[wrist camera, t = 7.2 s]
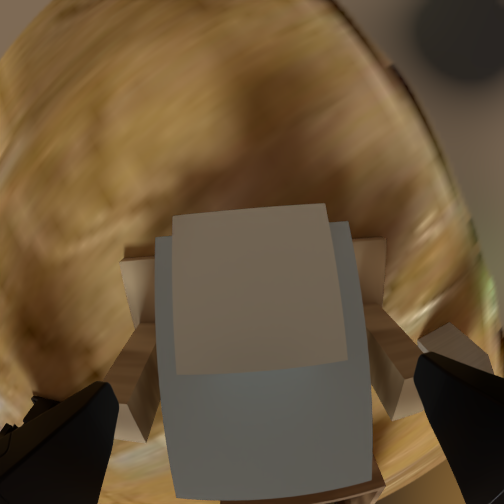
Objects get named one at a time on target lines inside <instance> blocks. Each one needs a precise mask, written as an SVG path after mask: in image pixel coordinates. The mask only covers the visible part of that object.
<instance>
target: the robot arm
mask: <svg viewBox="0 0 504 504" xmlns="http://www.w3.org/2000/svg"><path fill="white" fill-rule="evenodd" d="M413 380H414V384H415V387H416V389H417V392H418V394H419V397H420V399H421V402H422V405H423V407H424V410H425V413H426V415H427V418H428V420H429V423H430V425H431V427H432V429H433V431H434V433H435V435H436V437H437V439H438V441H439V443H440V445H441V447H442V450H443V452H444V454H445V456H446V458H447V460H448V462H449V464H450V467H451V469H452V471H453V474H454V476H455V478H456V480H457V483H458V485H459V488H460V490H461V493H462V495H463V498H464V500H465V503H466V504H504V378H502V377H499V376H496V375H493V374H491V373H488V372H485V371H483V370H480V369H477V368H475V367H472V366H469V365H467V364H464V363H461V362H459V361H456V360H453V359H451V358H448V357H446V356H443V355H440V354H438V353H435V352H432V351H430V352H426V353H423V354H421V355H420V356H419V357H418V361H417V364H416V368H415V372H414V376H413ZM31 400H32V402H33V403H34V405H33V407H32V408H31V409H30V411H29V412H28V413H27V415H26V416H25V417H24V419H23V422H24V424H23V425H22V426H21V427H19V428H18V427H17V426H16V425H15V424H14V425H13V427H12V426H11V425H9V424H7V423H6V424H5V426H4V427H3V429H2V430H1V431H0V504H97V503H98V499H99V495H100V491H101V487H102V484H103V480H104V476H105V472H106V469H107V465H108V462H109V458H110V454H111V451H112V446H113V440H114V435H115V429H116V424H117V418H118V413H119V402H118V400H117V398H116V395H115V393H114V391H113V389H112V386H111V385H110V383H108V382H104V381H96V382H94V383H92V384H91V385H89V386H87V387H86V388H84V389H82V390H81V391H79V392H78V393H76V394H74V395H73V396H71V397H69V398H68V399H66V400H64V401H63V402H57V401H52V400H48V399H44V398H40V397H36V396H33V397H32V398H31Z"/></svg>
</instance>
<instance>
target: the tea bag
mask: <svg viewBox="0 0 504 504" xmlns="http://www.w3.org/2000/svg"><path fill="white" fill-rule="evenodd" d="M417 341H418V347H419V348H420V350H421V351H422V352H423V353H426V352H430V351H432V352H435V353H438V354H440V355H443V356H446V357H448V358H451V359H453V360H456V361H459V362H461V363H464V364H467V365H469V366H472V367H475V368H477V369H480V370H483V371H485V372H488V373H491V374H493V375H494V372H493V369H492V366H491V363H490V359H489V356H488V354H486V353H485V352H484V351H483V350H482V349H481V348H480V347H479V346H477V345H476V344H475V343H474V342H473V341H472V340H470V339H469V338H468V337H467V336H466V335H465V334H463V333H462V332H461V331H460V330H459V329H458V328H456V327H455V326H454V325H453V324H452V323H450V322H449V323H447V324H445V325H443V326H442V327H440V328H438V329H436V330H435V331H433V332H431V333H429V334H427V335H425V336H424V337H422V338H420V339H418V340H417Z"/></svg>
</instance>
